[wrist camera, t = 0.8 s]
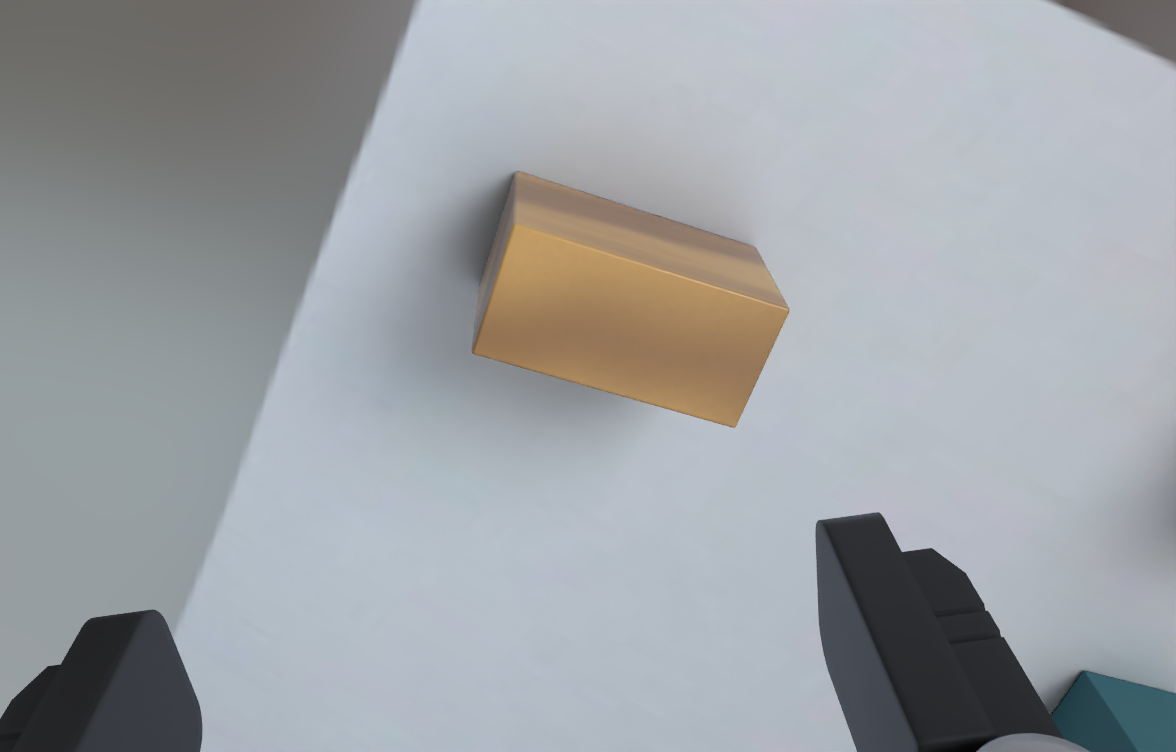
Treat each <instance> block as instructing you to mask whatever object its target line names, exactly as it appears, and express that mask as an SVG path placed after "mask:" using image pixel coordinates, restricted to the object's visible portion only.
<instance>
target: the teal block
mask: <svg viewBox="0 0 1176 752" xmlns="http://www.w3.org/2000/svg"><path fill="white" fill-rule="evenodd" d="M1051 718H1052V719H1053V721H1054V723H1055V724H1056V726H1057V728H1058V729H1059V731H1060V733H1061V734H1062V736H1063V737H1064V738H1065V740H1067V741H1070V742H1072V743H1075V744H1077V745H1079V746H1081V747H1083V748H1085V749H1087V750H1089V751H1090V752H1176V694H1175V693H1171V692H1167V691H1163V690H1159V689H1155V688H1151V687H1147V686H1143V685H1139V684H1135V683H1131V682H1127V681H1124V680H1120V679H1116V678H1112V677H1108V676H1104V675H1100V674H1096V673H1092V672H1088V671H1083V672H1082V673H1081V675H1080V676H1079V678H1078V679H1077V680H1076V682H1075V683H1074V685H1073V686H1072V687H1071V689H1070V690H1069V692H1068V693H1067V694H1066V696H1065V697H1064V699H1063V700H1062V701H1061V703H1060V704H1059V706H1058V707H1057V708H1056V710H1055V711H1054V713H1053V714H1052V715H1051Z"/></svg>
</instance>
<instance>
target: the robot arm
mask: <svg viewBox="0 0 1176 752" xmlns="http://www.w3.org/2000/svg"><path fill="white" fill-rule="evenodd" d="M816 559H817V585H818V611H819V626H820V635H821V641H822V646H823V652H824V656H825V660H826V664H827V668H828V671H829V674H830V677H831V680H832V682H833V685H834V688H835V691H836V694H837V696H838V699H839V702H840V705H841V707H842V710H843V713H844V716H845V719H846V721H847V724H848V727H849V730H850V732H851V735H852V738H853V741H854V744H855V746H856V749H857V752H1090V751H1089V750H1087V749H1085V748H1083V747H1081V746H1079V745H1077V744H1075V743H1072V742H1070V741H1067V740H1065V738H1064V737H1063V736H1062V734H1061V733H1060V731H1059V729H1058V728H1057V726H1056V724H1055V723H1054V721H1053V719H1052V718H1051V716H1050V714H1049V712H1048V711H1047V709H1046V707H1045V706H1044V704H1043V702H1042V701H1041V699H1040V697H1039V696H1038V694H1037V692H1036V691H1035V689H1034V687H1033V686H1032V684H1031V682H1030V681H1029V679H1028V677H1027V676H1026V674H1025V672H1024V670H1023V669H1022V667H1021V665H1020V664H1019V662H1018V660H1017V659H1016V657H1015V655H1014V654H1013V652H1012V650H1011V649H1010V647H1009V645H1008V644H1007V642H1006V640H1005V639H1004V637H1002V638H1001V636H1000V630H999V628H998V627H997V625H996V623H995V622H994V620H993V618H992V617H991V615H990V613H989V612H988V611H985V607H984V603H983V602H982V600H981V598H980V597H979V595H978V593H977V592H976V590H975V588H974V587H973V585H972V583H971V581H970V580H969V578H968V576H967V575H966V573H965V572H963V571H962V570H961V569H959V568H958V567H957V566H955V565H954V564H952V563H951V562H950V561H948V560H947V559H946V558H944V557H943V556H942V555H940V554H939V553H938V552H936V551H935V550H933V549H932V548H929V549H922V550H915V551H907V552H901V550H900V548H899V546H898V544H897V542H896V540H895V538H894V536H893V534H892V532H891V531H890V529H889V527H888V525H887V523H886V521H885V519H884V518H883V516H882V515H881V514H880V513H879V512H878V513H870V514H862V515H855V516H848V517H840V518H833V519H826V520H818V521H817V524H816ZM201 742H202V717H201V710H200V706H199V703H198V700H197V697H196V695H195V692H194V690H193V687H192V685H191V682H190V680H189V677H188V675H187V672H186V670H185V667H184V665H183V662H182V660H181V657H180V655H179V652H178V650H177V647H176V645H175V642H174V640H173V637H172V635H171V632H170V630H169V627H168V625H167V623H166V621H165V619H164V617H163V616H162V615H161V614H160V613H159V612H158V611H156V610H146V611H139V612H132V613H124V614H117V615H109V616H103V617H96V618H91V619H90V620H88V621H87V622H86V623H85V624H84V625H83V627H82V628H81V630H80V632H79V634H78V635H77V637H76V639H75V641H74V642H73V644H72V646H71V648H70V649H69V651H68V653H67V655H66V656H65V658H64V660H63V662H62V663H61V665H55V666H48V667H47V668H46V669H45V670H43V671H42V672H41V673H40V674H39V675H38V676H37V677H36V678H35V679H34V680H33V681H32V682H31V683H30V684H28V685H27V686H26V687H25V688H24V689H23V690H22V691H21V692H20V693H19V694H18V695H17V696H16V697H15V698H14V699H12V701H11V702H10V704H9V706H8V707H7V709H6V711H5V712H4V714H3V715H2V717H1V719H0V752H200V748H201Z"/></svg>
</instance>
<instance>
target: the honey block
mask: <svg viewBox="0 0 1176 752" xmlns="http://www.w3.org/2000/svg"><path fill="white" fill-rule="evenodd" d="M788 313H789V307H788V305H787V303H786V302H785V300H784V298H783V296H782V294H781V293H780V291H779V289H778V287H777V285H776V283H775V282H774V280H773V278H772V276H771V274H770V272H769V271H768V269H767V267H766V265H765V263H764V261H763V260H762V258H761V256H760V254H759V252H758V251H757V249H756V248H755V247H753V246H750V245H747V244H744V243H741V242H738V241H735V240H732V239H728V238H725V237H722V236H719V235H716V234H713V233H710V232H707V231H703V230H700V229H697V228H694V227H691V226H688V225H685V224H682V223H678V222H675V221H672V220H669V219H666V218H663V217H660V216H657V215H653V214H650V213H647V212H644V211H641V210H638V209H635V208H632V207H628V206H625V205H622V204H619V203H616V202H613V201H610V200H607V199H603V198H600V197H597V196H594V195H591V194H588V193H585V192H582V191H578V190H575V189H572V188H569V187H566V186H563V185H560V184H557V183H553V182H550V181H547V180H544V179H541V178H538V177H535V176H532V175H528V174H525V173H522V172H519V171H518V172H516V173H515V175H514V178H513V181H512V184H511V187H510V190H509V194H508V197H507V200H506V203H505V206H504V209H503V212H502V216H501V219H500V222H499V225H498V228H497V231H496V234H495V237H494V241H493V244H492V247H491V250H490V253H489V256H488V259H487V262H486V266H485V269H484V272H483V275H482V278H481V281H480V284H479V293H478V301H477V310H476V318H475V327H474V336H473V344H472V353H473V354H475V355H479V356H482V357H486V358H489V359H493V360H496V361H500V362H503V363H507V364H511V365H514V366H518V367H521V368H525V369H528V370H532V371H535V372H539V373H542V374H546V375H549V376H553V377H556V378H560V379H563V380H567V381H570V382H574V383H578V384H581V385H585V386H588V387H592V388H595V389H599V390H602V391H606V392H609V393H613V394H616V395H620V396H623V397H627V398H630V399H634V400H638V401H641V402H645V403H648V404H652V405H655V406H659V407H662V408H666V409H669V410H673V411H676V412H680V413H683V414H687V415H690V416H694V417H698V418H701V419H705V420H708V421H712V422H715V423H719V424H722V425H726V426H729V427H733V428H734V427H736V425H737V423H738V421H739V419H740V416H741V414H742V412H743V410H744V408H745V406H746V403H747V401H748V399H749V397H750V395H751V393H752V391H753V388H754V386H755V384H756V382H757V380H758V378H759V375H760V373H761V371H762V369H763V367H764V365H765V362H766V360H767V358H768V356H769V354H770V352H771V350H772V347H773V345H774V343H775V341H776V339H777V337H778V334H779V332H780V330H781V328H782V326H783V324H784V321H785V319H786V317H787V315H788Z"/></svg>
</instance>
